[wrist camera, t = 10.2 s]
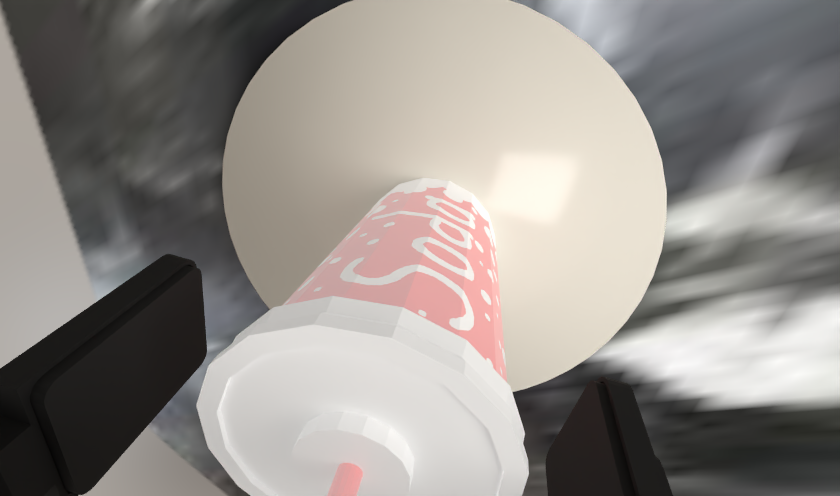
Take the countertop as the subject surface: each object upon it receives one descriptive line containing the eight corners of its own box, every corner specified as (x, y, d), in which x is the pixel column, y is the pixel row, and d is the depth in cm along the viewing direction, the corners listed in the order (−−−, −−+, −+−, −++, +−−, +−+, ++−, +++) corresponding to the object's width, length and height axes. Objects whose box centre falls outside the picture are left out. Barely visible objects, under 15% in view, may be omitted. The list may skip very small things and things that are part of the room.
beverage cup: (554, 233, 14) (808, 1344, 2) (443, 331, 17) (296, 1054, 5) (415, 116, 13) (-428, 1012, 1) (321, 241, 16) (-211, 880, 4)
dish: (236, -65, 13) (213, -72, 12) (758, 59, 12) (781, 63, 11) (241, 325, 21) (227, 341, 20) (556, 416, 20) (559, 438, 19)
